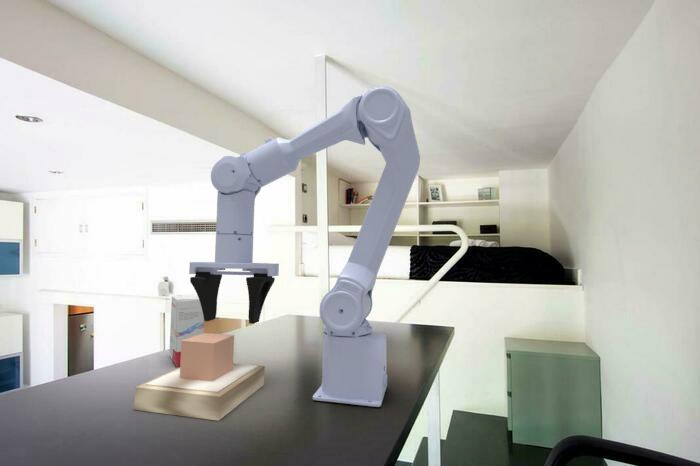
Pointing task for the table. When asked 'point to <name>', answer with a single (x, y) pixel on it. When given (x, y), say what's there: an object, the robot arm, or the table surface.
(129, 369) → the table surface
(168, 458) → the table surface
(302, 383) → the table surface
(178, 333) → the ink box
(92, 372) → the table surface
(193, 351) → the terracotta cube
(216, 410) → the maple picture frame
